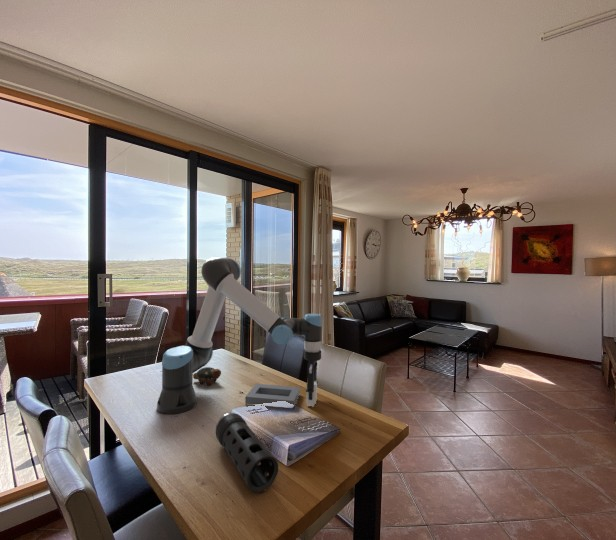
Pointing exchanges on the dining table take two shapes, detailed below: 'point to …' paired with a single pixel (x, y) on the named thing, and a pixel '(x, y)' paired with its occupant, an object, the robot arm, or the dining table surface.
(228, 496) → the dining table surface
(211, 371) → the decorative turtle
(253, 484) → the muzzle brake
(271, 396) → the block
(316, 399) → the plug
